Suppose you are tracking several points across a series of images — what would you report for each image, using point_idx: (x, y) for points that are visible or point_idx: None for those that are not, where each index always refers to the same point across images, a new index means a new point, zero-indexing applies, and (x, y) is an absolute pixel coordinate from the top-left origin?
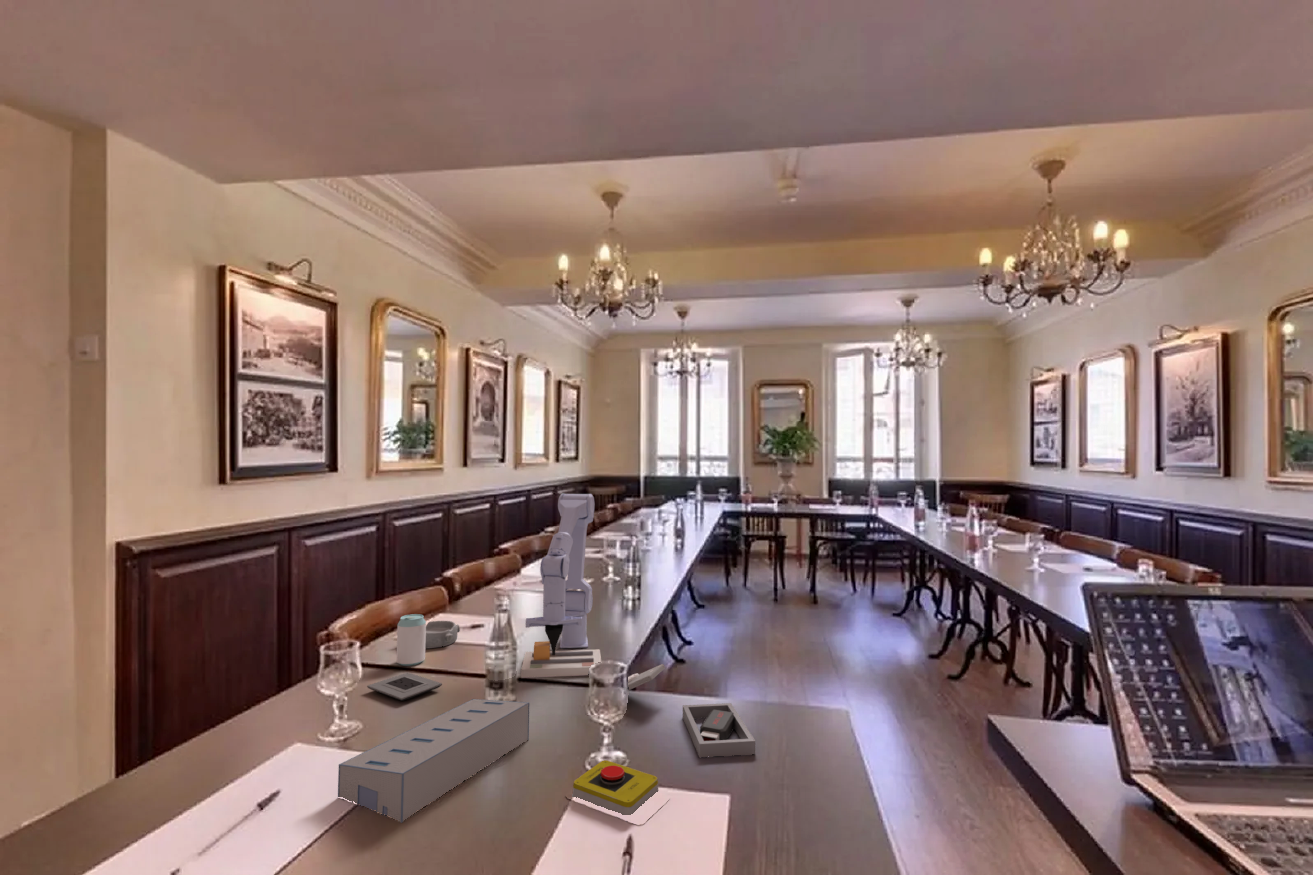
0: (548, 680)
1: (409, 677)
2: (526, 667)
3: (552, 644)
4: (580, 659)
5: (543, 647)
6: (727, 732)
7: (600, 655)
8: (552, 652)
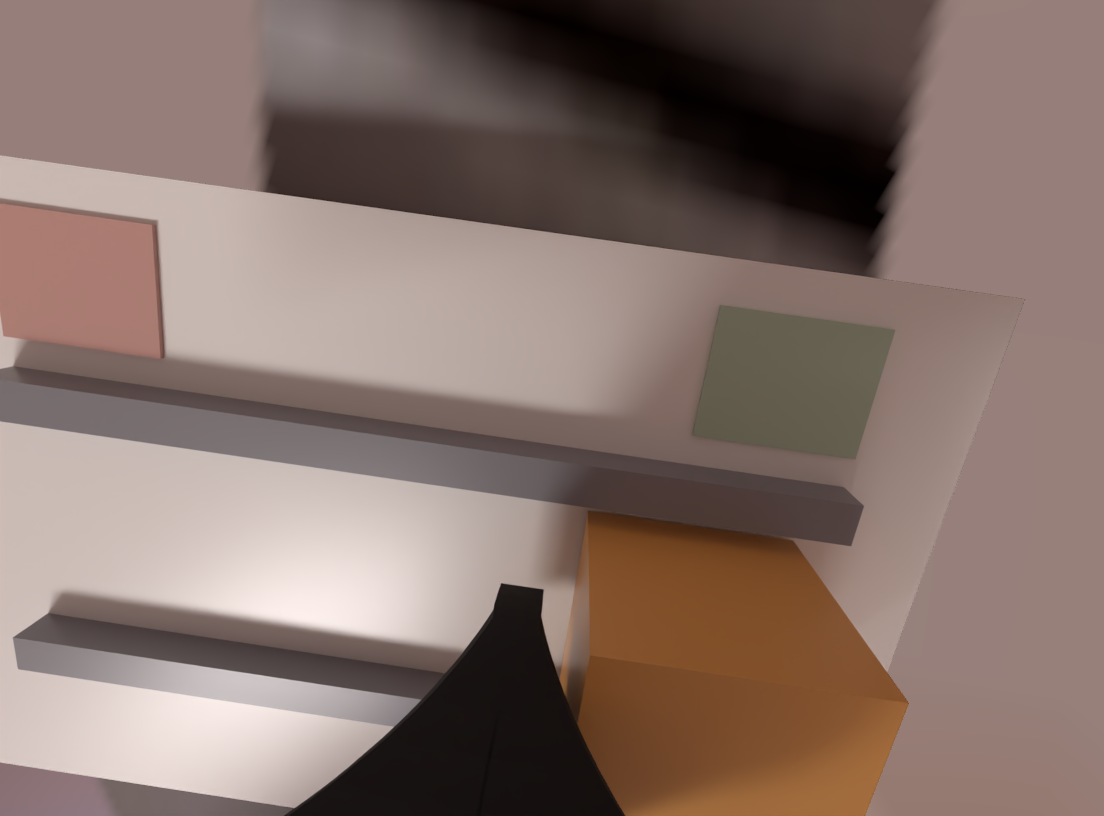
0: (639, 114)
1: None
2: (928, 374)
3: (528, 687)
4: (155, 399)
5: (706, 656)
6: None
7: None
8: (536, 605)
